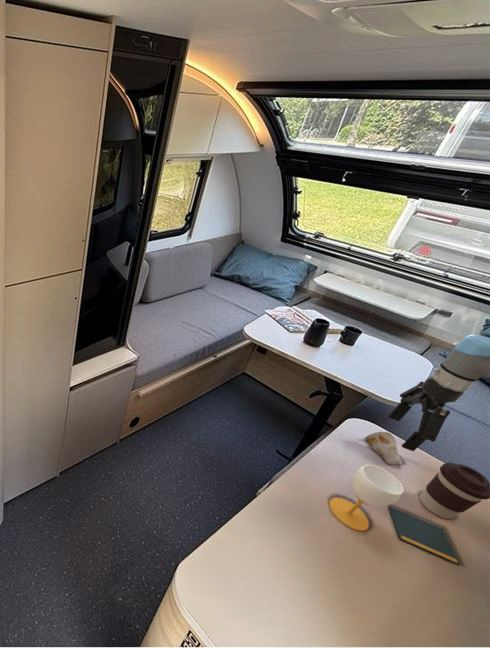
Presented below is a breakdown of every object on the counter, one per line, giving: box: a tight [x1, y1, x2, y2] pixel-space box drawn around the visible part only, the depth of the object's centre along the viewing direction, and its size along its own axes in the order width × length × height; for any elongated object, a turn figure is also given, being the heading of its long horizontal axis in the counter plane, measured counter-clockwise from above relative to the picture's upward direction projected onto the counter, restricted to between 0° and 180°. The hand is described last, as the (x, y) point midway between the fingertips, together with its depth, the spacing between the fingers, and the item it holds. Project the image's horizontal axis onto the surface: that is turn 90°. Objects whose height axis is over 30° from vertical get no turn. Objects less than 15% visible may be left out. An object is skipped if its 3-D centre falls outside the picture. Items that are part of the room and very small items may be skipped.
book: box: [387, 505, 461, 566], centre depth 95 cm, size 12×10×1 cm
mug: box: [365, 431, 403, 466], centre depth 116 cm, size 8×10×10 cm
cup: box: [328, 464, 405, 532], centre depth 94 cm, size 9×9×16 cm
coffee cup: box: [419, 462, 490, 520], centre depth 99 cm, size 10×10×15 cm
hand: (399, 433), depth 112 cm, fingers open, 13 cm apart
